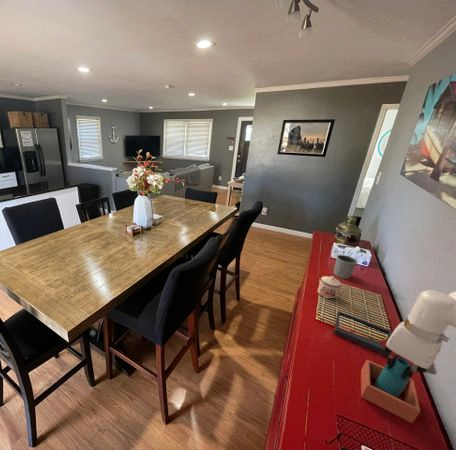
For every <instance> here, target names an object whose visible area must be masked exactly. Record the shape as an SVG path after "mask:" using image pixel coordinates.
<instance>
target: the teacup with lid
mask: <svg viewBox="0 0 456 450" xmlns="http://www.w3.org/2000/svg"><path fill="white" fill-rule="evenodd" d="M340 289H341V290H343V291H342V292H339V290H340ZM316 292H317V294H318V293H319V294H321V295H323V296H325V297H329V298H335V297H337V296H344V294H346V292H347V290H346V288H345V287H343V286H342V284H341V281H340V280H339V279H337V278H335V276H333V275H330V276H327V275H326V276H325V275H324V276H322V277H321V278H320V282H319V285H318V288H317V291H316ZM319 294H318V295H319ZM321 295H320V296H321ZM335 299H336V298H335Z"/></svg>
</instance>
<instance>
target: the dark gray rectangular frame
mask: <svg viewBox="0 0 456 450" xmlns="http://www.w3.org/2000/svg"><path fill="white" fill-rule="evenodd" d="M336 315H337V318H336V317H335V322H336V325H335V324H334V330H335V331H334V330H333V335H335V334H336V335H335V336H338V335H339V336H338V337H340V336H341V337H340V338H342V337H343V339H345V338H346V339H345V340H347V339H348V340H347V341H349V340H351V341H350V342H352V341H353V342H352V343H354V342H355V343H354V344H356V343H358V344H357V345H359V344H360V345H359V346H361V345H362V346H361V347H363V346H364V347H363V348H366V349H368V348H369V349H368V350H370V349H371V350H370V351H373V352H375V353H377V354H380V355H381V356H385V357H387V358H389V357H388V356H389V355H388V354H387V352H386V350H385V348H384V347H383V346H382V345H381V344H380V343H379V342H378V341H375V340H373V339H369V338H366V337H363V336H360V335H356V334H353V333H350V332H347V331H345V330H343V329H340V328H338V325H339V316H340V315H342V316H345V317H347V318H350V319H353V320H355V321H357V322H360V323H362V324H364V325H366V326H368V327H371V328H374V329H376V330H379V331H381V332H384V333H386V334H388V338H390V336H391V334H392V330H391V329H387V328H384V327H382V326H380V325H377V324H374V323H371V322H369V321H366V320H363V319H361V318H358V317H355V316H353V315H350V314H347V313H345V312H342V311H339V310H337V312H336Z"/></svg>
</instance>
